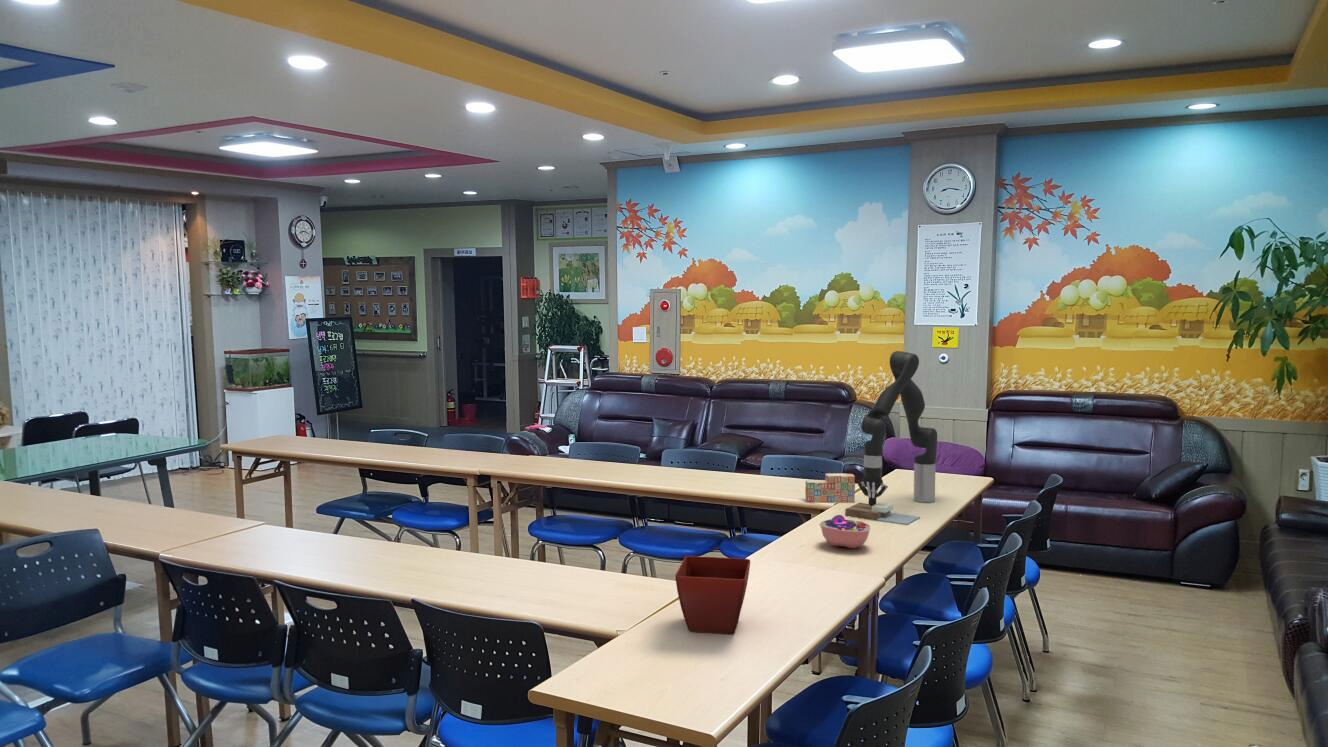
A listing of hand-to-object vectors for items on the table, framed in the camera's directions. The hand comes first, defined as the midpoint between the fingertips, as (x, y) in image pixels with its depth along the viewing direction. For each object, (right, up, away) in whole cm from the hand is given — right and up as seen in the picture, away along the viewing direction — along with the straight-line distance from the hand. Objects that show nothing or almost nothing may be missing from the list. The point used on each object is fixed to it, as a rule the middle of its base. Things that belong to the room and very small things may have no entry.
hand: (872, 506), depth 376 cm
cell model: (-21, -8, -47) cm, 52 cm away
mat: (+9, -5, -6) cm, 12 cm away
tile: (+3, -1, -3) cm, 5 cm away
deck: (-2, -4, +1) cm, 4 cm away
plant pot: (-74, -15, -125) cm, 146 cm away
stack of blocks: (-13, -2, +28) cm, 31 cm away
